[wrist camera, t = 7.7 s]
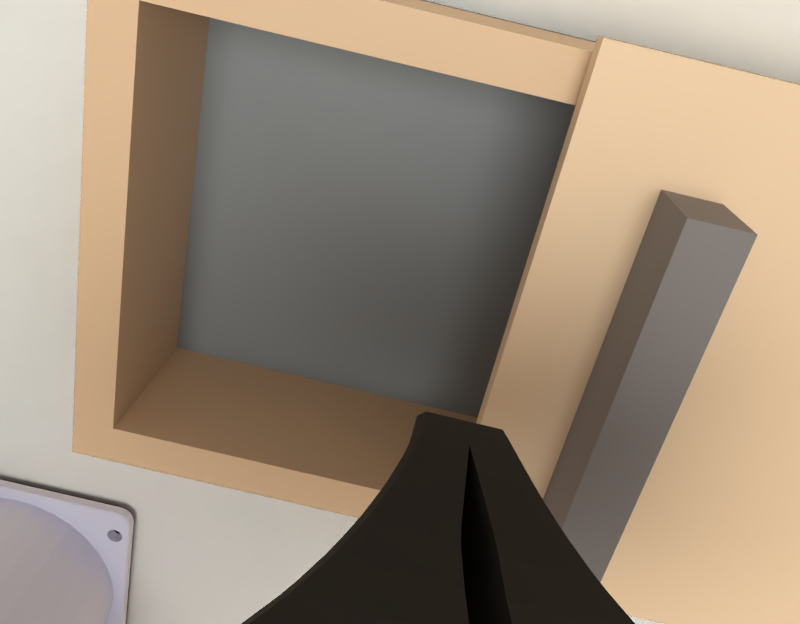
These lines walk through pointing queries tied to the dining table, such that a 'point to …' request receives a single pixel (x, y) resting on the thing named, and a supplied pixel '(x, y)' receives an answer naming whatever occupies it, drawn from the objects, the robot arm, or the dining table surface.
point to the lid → (667, 339)
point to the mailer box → (303, 230)
